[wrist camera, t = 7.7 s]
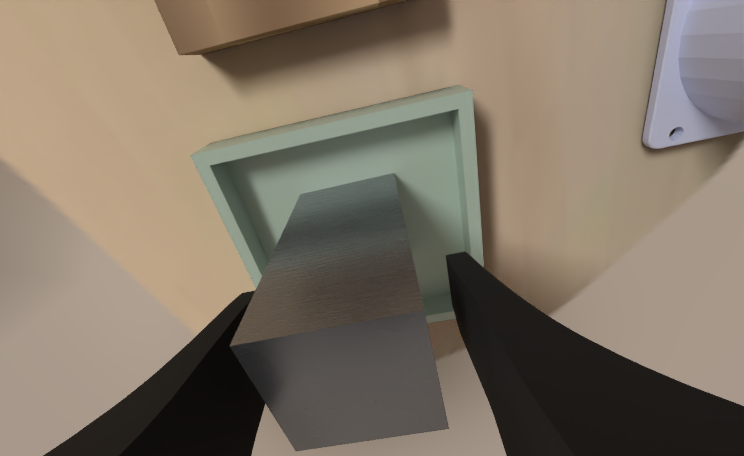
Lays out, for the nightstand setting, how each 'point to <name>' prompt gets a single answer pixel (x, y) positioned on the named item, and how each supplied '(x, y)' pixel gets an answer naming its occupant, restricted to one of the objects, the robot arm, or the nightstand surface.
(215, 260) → the nightstand surface
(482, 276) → the robot arm
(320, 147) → the sage tray
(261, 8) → the oak holder
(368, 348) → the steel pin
